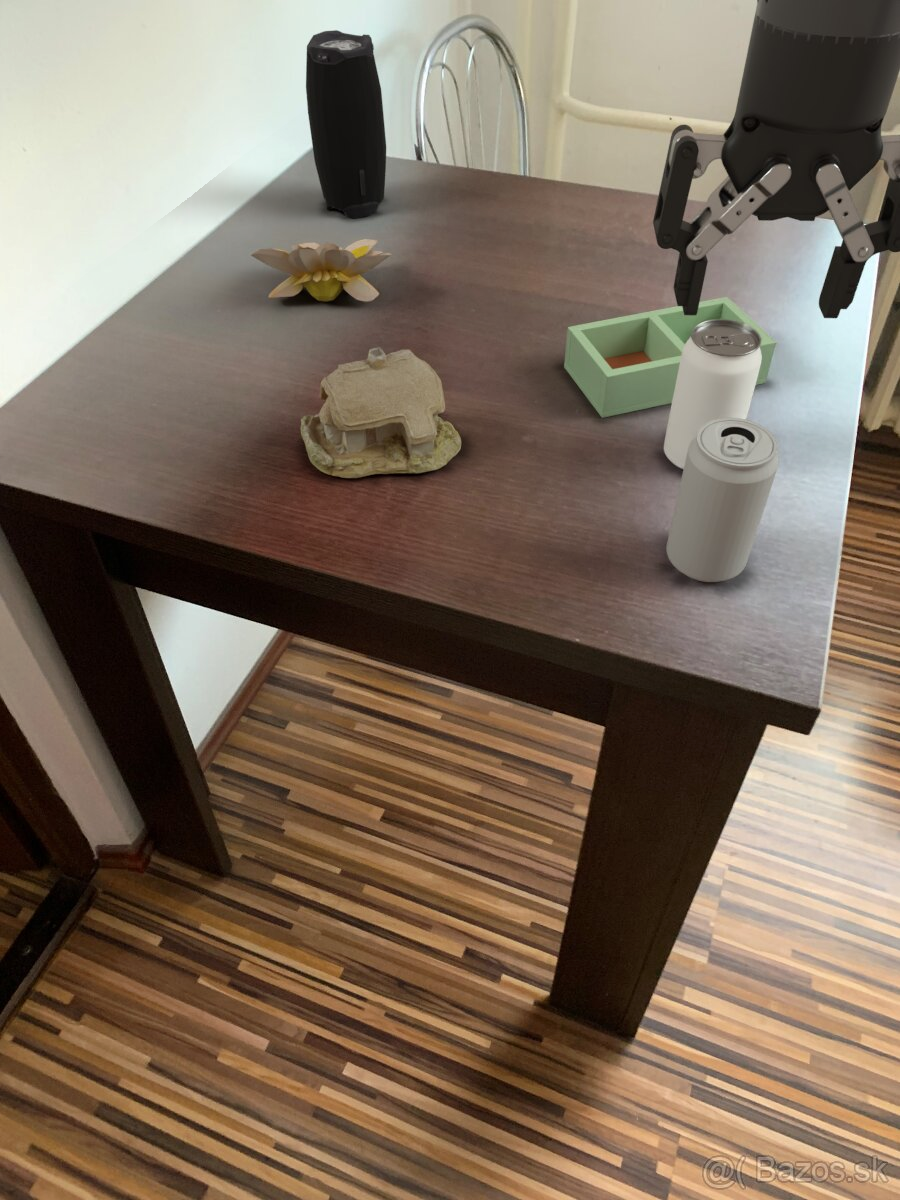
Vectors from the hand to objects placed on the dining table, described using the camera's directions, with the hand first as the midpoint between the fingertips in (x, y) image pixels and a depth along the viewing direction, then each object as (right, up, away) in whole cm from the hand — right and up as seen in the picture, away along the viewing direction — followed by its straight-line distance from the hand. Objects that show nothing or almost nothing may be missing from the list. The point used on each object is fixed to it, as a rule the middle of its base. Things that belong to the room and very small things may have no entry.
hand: (757, 310), depth 55 cm
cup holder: (+2, +5, +34) cm, 35 cm away
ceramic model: (-26, -4, +27) cm, 38 cm away
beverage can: (+1, -15, +16) cm, 22 cm away
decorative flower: (-33, +17, +47) cm, 60 cm away
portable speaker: (-32, +35, +63) cm, 79 cm away
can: (+3, -5, +26) cm, 26 cm away
